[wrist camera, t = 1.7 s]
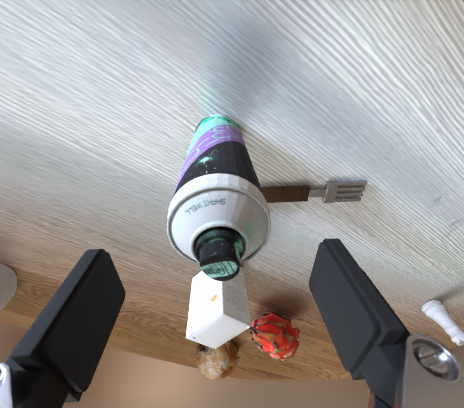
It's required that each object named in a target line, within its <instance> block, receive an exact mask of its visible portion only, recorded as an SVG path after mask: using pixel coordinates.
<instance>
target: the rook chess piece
mask: <svg viewBox="0 0 464 408" xmlns="http://www.w3.org/2000/svg"><path fill="white" fill-rule="evenodd" d="M422 311H423V312H425V314H426V316H428V317H430V318H432V319H433V320H435V321H436V322H437V323H438V324H440V325H441V326H442V327H443V328H444V330H445V331H446V333H448V334H449V335H450V336H451V341H453V342H455V343H456V344H457V345H459V346H462V344H463V345H464V332H463V331H462V330H461V328H460V327H459V326H457V324H456V323H455V322H454V321H453V320H452V318H451V317H450V316H449V314H448V311H447V308H446V306H444V305H443V303H442V302H441V301H438V300H432V301H429V302H427V303H425V304H424V305H423V306H422ZM461 343H462V344H461Z"/></svg>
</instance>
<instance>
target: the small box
mask: <svg viewBox="0 0 464 408" xmlns="http://www.w3.org/2000/svg"><path fill="white" fill-rule="evenodd" d="M250 327H251V319H250V312H249V305H248V298H247V291H246V284H245V277H244V270H243V268H242V267H241V266H240V271H239V273H238V274H237V276H235V277H234V278H233V279H231V280H228V281H216V280H213V279H211V278H210V277H208V276H207V275H206V274H205V273H204V272H203V271H201V272H200V273H198V274H197V275H196V276H195V277H194V278H193V279H192V288H191V297H190V306H189V315H188V324H187V334H186V338H187V339H189V340H192V341H195V342H197V343H200V344H203V345H205V346H208V347H211V348H214V349H216V348H218V347H219V346H221V345H222V344H224V343H226V342H227V341H229V340H230V339H232V338H234V337H235V336H237V335H238V334H240V333H242V332H243V331H245V330H246V329H248V328H250Z"/></svg>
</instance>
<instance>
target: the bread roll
mask: <svg viewBox="0 0 464 408" xmlns="http://www.w3.org/2000/svg"><path fill="white" fill-rule="evenodd" d="M237 352H238V350H237V349H236V346H235V345H234V344H233V343H232V342H231V341H227V342H226V343H224V344H222V345H221V346H219V347H218V348H216V349H214V348H211V347H208V346H205V345H203V344H202V345H201V347H200V348H198V350H197V352H196V363H197V366H198V368H199V370H200V371H201V372H202V373H203V374H204V376H205V377H206V378H211V379H215V380H218V379H222V378H225V377H227V376H228V375H230V374H231V373H232V372H233V370H234V369H235V368H236V367H237V366H236V365H237V363H238V362H239V359H240V356H238V357H237Z"/></svg>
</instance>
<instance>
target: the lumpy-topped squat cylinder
mask: <svg viewBox="0 0 464 408" xmlns="http://www.w3.org/2000/svg"><path fill="white" fill-rule="evenodd" d="M16 289H17V276H16V274H15V272H14V271H13V270H12V269H11V268H9V267H8V266H6V265H4V264H2V263H0V311H1V310H2V309H3V308H4V306H5V305H6V304H7V303H8V302H9V301H10V300H11V299H12V297H13V296H14V295H15V293H16Z"/></svg>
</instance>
